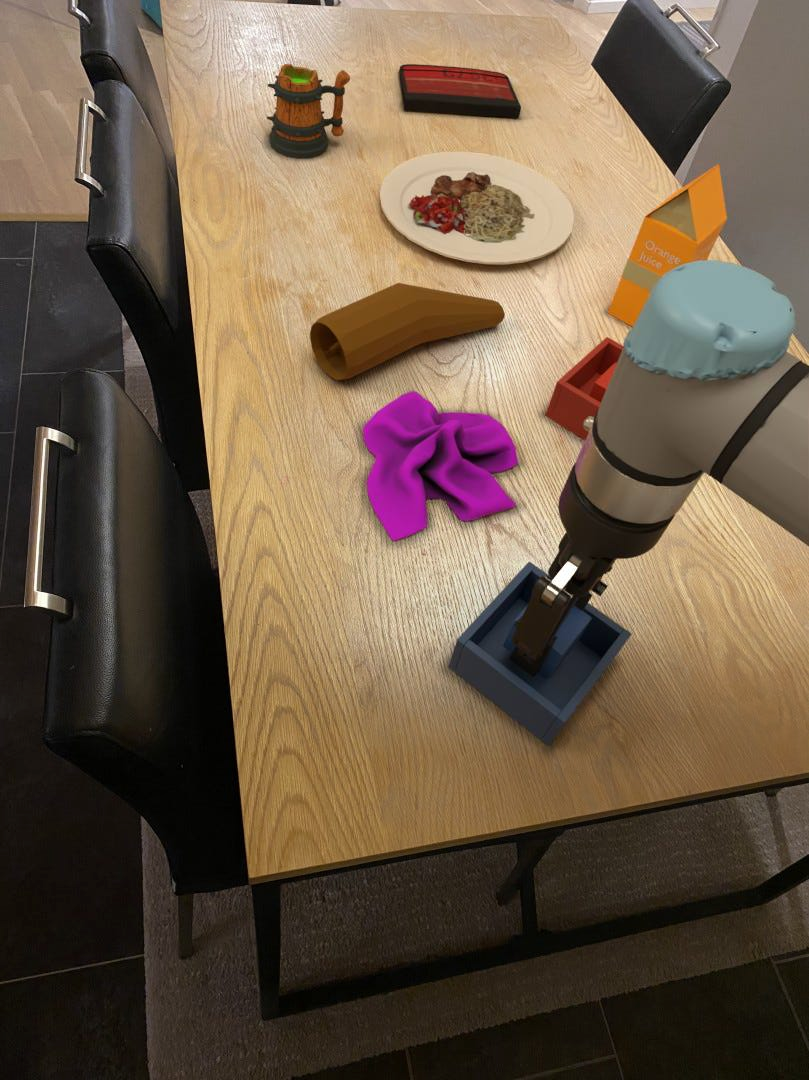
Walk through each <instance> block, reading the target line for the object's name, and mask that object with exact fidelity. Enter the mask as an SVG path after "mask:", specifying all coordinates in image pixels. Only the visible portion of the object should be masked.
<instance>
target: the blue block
mask: <svg viewBox="0 0 809 1080" xmlns="http://www.w3.org/2000/svg"><path fill="white" fill-rule="evenodd" d="M526 607H527V606H526ZM525 610H526V608H525V609H524V610H523V611H522V612H521V613H520V614H519V615H518V617H517V618H516V619H515V620H514V623H513V625H512V627H511V629H510V631H509V633H508V635H507V638H506V640H505V642H504V644H503V647H505V648H506V649H507V650H508V651H510V652H511V653H512V652H513V650H514V648H515V646H516V645H514V644H513V643H512V642H511V639H512V636H513V634H514V633H515V631H516V629H517V628H516V627H515V626H514V624H515V623H516V622H517V621H518V620H519V619H520V618H521V617H522V616H523V614H524V612H525ZM591 619H592V618H591V617H590V616H589V615H587V614H586V613H585V612H583V611H582V610H580V609H579V608H578V607H576V606H575V605H574V606H573V608H572V609H571V611H570V613H569V614H568V616H567V617H566V619H565V621H564V622H563V624H562V625H561V627H560V629H559V630H558V632H557V633H556V635H555V636H556V637H557V639H556V641H555V643H554V644H553V646H552V648H551V650H550V651H549V653H548V655H547V657H546V659H545V660H544V662H543V664H542V666H541V667H540V669H539V671H538V672H537V673H539V674H540V675H541V676H542V677H544V678H545V679H548V678H549V677H550V676H551V674H552V673H553V672H554V671H555V669H556V668H557V667H558V666H559V664H560V663H561V662H562V661H563V659H564V658H565V657H566V656H567V654H568V653H569V652H570V651H571V649H572V648H573V647H574V646H575V644H576V643H577V641H578V640H579V638H580V637H581V635H582V633H583V632H584V630H585V629H586V627H587V625H588V624H589V622H590V621H591Z"/></svg>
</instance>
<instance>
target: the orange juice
mask: <svg viewBox="0 0 809 1080" xmlns="http://www.w3.org/2000/svg"><path fill="white" fill-rule="evenodd" d="M726 209H727V208H726V203H725V195H724V189H723V183H722V177H721V169H720V163H717V164H716V165H714V166H713V167H711V168H710V169H708V170H707V171H705V172H704V173H702V174H701V175H699V176H697V177H696V178H695V179H693V180H692V181H689V182H688V183H686V184H685V185H684V186H683V187H681V188H680V189H678V190H677V191H675V192H673V193H672V194H671V195H670V196H668V197H667V198H666V199H665V200H664V201H662V202H660V204H659V205H657V206H656V207H654V209H652V210H651V211H650V212H648V213H647V214H646V215H645V216H644V217H643V220H642V223H641V226H640V228H639V230H638V233H637V236H636V239H635V241H634V244H633V246H632V249H631V251H630V253H629V254H630V255H629V256H628V259H627V261H626V263H625V265H624V269H623V271H622V274H621V278H620V280H619V283H618V285H617V288H616V290H615V292H614V296H613V297H612V301H611V303H610V306H609V308H608V311H607V314H609V315H611V316H612V317H614V318H616V319H618V320H620V321H622V322H623V323H625V324H627V325H629V326H630V327H631V328H633V326H634V324H635V322H636V320H637V318H638V316H639V314H640V312H641V311H642V309H643V307H644V305H645V303H646V301H647V299H648V297H649V295H650V293H651V291H652V289H653V287H654V286H655V284H656V283H657V282H658V280H659V279H660V278H661V277H662V276H663V275H664V274H665V273H666V272H668V271H670V270H672V269H674V268H676V267H678V266H680V265H682V264H686V263H689V262H693V261H702V260H709V257H710V254H711V252H712V250H713V248H714V246H715V244H716V242H717V239H718V238H719V235H720V234H721V231H722V230H723V227H724V225H725V223H726V221H727V220H728V216H727V210H726Z"/></svg>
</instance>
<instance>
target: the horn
mask: <svg viewBox="0 0 809 1080" xmlns="http://www.w3.org/2000/svg"><path fill="white" fill-rule="evenodd" d="M505 317H506V312H505V311H504V308H503V306H502V305H501V304H500V303H499V301H496V300H493V299H489V298H483V297H478V296H472V295H466V294H461V293H456V292H451V291H445V290H441V289H434V288H429V287H423V286H419V285H418V286H417V285H412V284H407V283H401V282H397V283H395V284H393V285H390V286H387V287H385V288H383V289H380V290H379V291H377V292H374V293H372V294H370V295H368V296H365V297H363V298H361V299H358V300H356V301H353V302H352V303H350V304H347V305H345V306H342V307H340V308H338V309H336V310H334V311H332V312H329V313H327V314H325V315H323V316H321V317H319V318H317V320H315V322H314V323H313V324H312V325H311V327H310V330H309V331H310V332H309V340H310V344H311V349H312V352H313V354H314V357H315V359H316V361H317V363H318V364H319V366H320V367H321V369H322V370H323V371H324V372H325V373H326V375H328V376H329V377H330V378H332V379H334V380H337V381H342V380H348V379H352V378H353V377H356V376H357V375H359V374H361V373H363V372H366V371H367V370H369V369H371V368H374V367H376V366H378V365H379V364H382V363H384V362H386V361H388V360H390V359H391V358H394V357H396V356H397V355H400V354H402V353H404V352H406V351H408V350H410V349H412V348H413V347H416V346H419V345H421V344H426V343H430V342H434V341H438V340H442V339H447V338H450V337H455V336H459V335H463V334H468V333H472V332H477V331H481V330H485V329H489V328H494V327H496V326H498V325H499V324H500V323H502V322H503V321H504V319H505Z"/></svg>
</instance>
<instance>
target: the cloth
mask: <svg viewBox="0 0 809 1080" xmlns="http://www.w3.org/2000/svg"><path fill="white" fill-rule="evenodd" d="M362 434H363V440H364V444H365V447H366V448H367V450H368V451H369V452H370V453H371V454H372V455H373V456H374V457H375V458H374V462H373V465H372V466H371V469H370V472H369V473H368V475H367V478H366V479H367V480H366V489H367V494H368V498H369V499H368V500H369V502H370V505H371V507H372V509H373V512H374V514H375V516H377V518H378V520H379V522H380V524H381V525H382V526H383V528H384V530H385V531H386V533H387V535H388V537H389V538H390V540H391V541H393V542H396V541H400V540H403V539H406V538H407V537H411V536H412V535H414V534H416V533H418V532H421V531H423V530H424V529H425V528H426V527H427V526H428V523H429V521H428V507H427V500H437V499H438V500H439V499H440V500H443V501H445V503H446V505H448V507H449V508H450V509H451V510H452V512H453V513H454V514H455V516H456V517H457V518H458V519H459V520H461V522H467V521H474V520H477V519H480V518H482V517H484V516H489V515H492V514H496V513H500V512H503V511H507V510H510V509H512V508H515V507H516V506H517V504H516V503H515V501H513V499H511V497H510V496H509V495H508V494H507V492H506V491H505V490H504V488H503V487H502V486H501V484H499V482H498V480H497V479H496V478H495V477H494V475H493V474H496V473H502V472H506V471H507V470H510V469H511V468H513V467H515V466H516V465H518V464H519V459H518V455H517V447H516V445H515V442H514V441H513V438H512V437H511V435H510V433H509V432H508V430H507V429H506V428H505V427H504V425H503V424H502V423H501V422H500V421H498V420H497V419H496V418H493V415H489V414H485V413H474V412H473V413H472V412H454V411H449V412H440V413H439V412H438V409H437V408H436V406H435V405H434V404H433V403H432V402H431V401H430V400H428V399H426V398H425V397H423V396H422V395H421V394H420V393H419V392H418V391H414V390H413V391H409V392H406V393H403V394H401V395H400V396H398V397H397V398H395V399H394V400H392V401H390V402H389V403H387V404H385V405H384V406H383V407H382V408H379V410H378V411H376V412H375V414H373V416H371V418H370V419H369V420H368V421H367V422H366V424H364V425H363V427H362Z"/></svg>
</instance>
